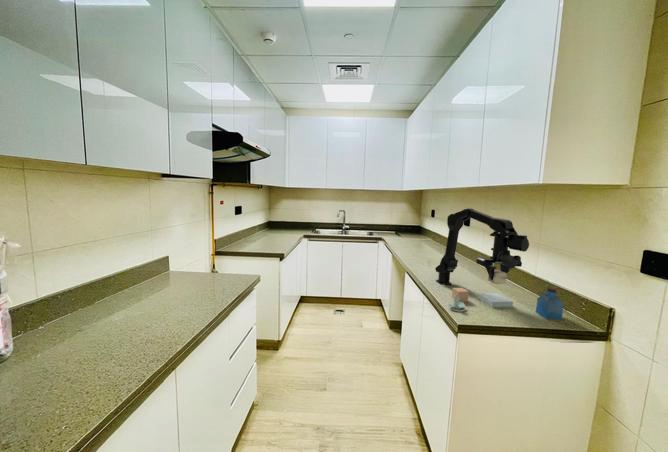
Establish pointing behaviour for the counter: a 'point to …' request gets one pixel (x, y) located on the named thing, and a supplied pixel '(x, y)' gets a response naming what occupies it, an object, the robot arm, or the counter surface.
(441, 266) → the robot arm
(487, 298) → the blue-grey slab
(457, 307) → the pacifier
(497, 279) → the birch cube
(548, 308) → the perfume bottle
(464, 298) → the terracotta cube
